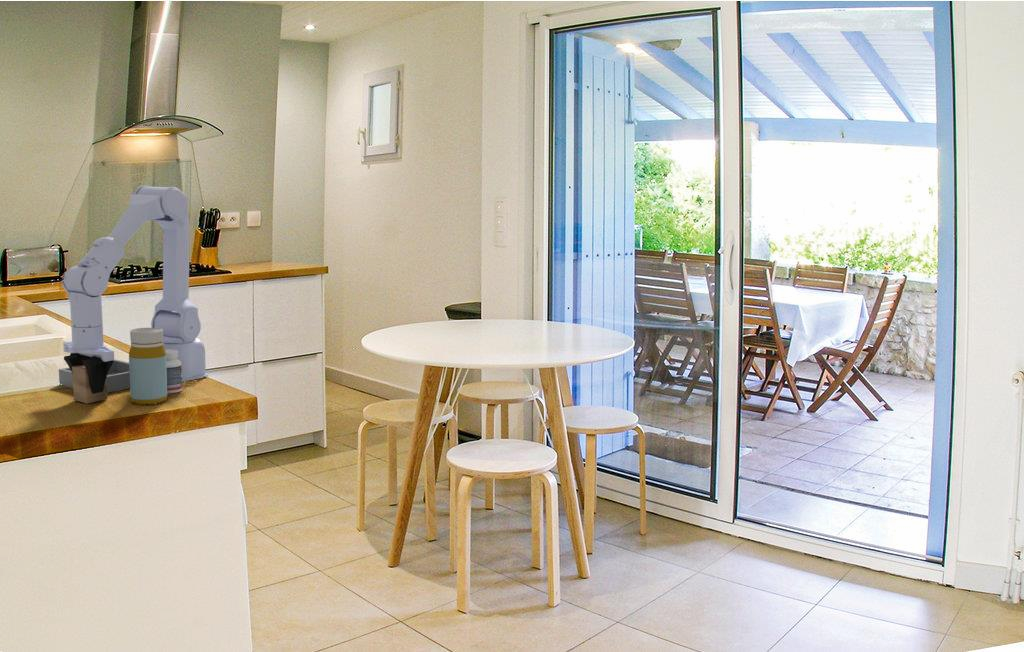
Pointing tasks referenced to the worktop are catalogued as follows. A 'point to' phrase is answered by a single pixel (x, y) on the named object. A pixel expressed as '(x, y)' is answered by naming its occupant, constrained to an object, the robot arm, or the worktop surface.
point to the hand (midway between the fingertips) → (90, 390)
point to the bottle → (147, 366)
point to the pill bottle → (173, 371)
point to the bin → (115, 378)
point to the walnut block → (85, 386)
